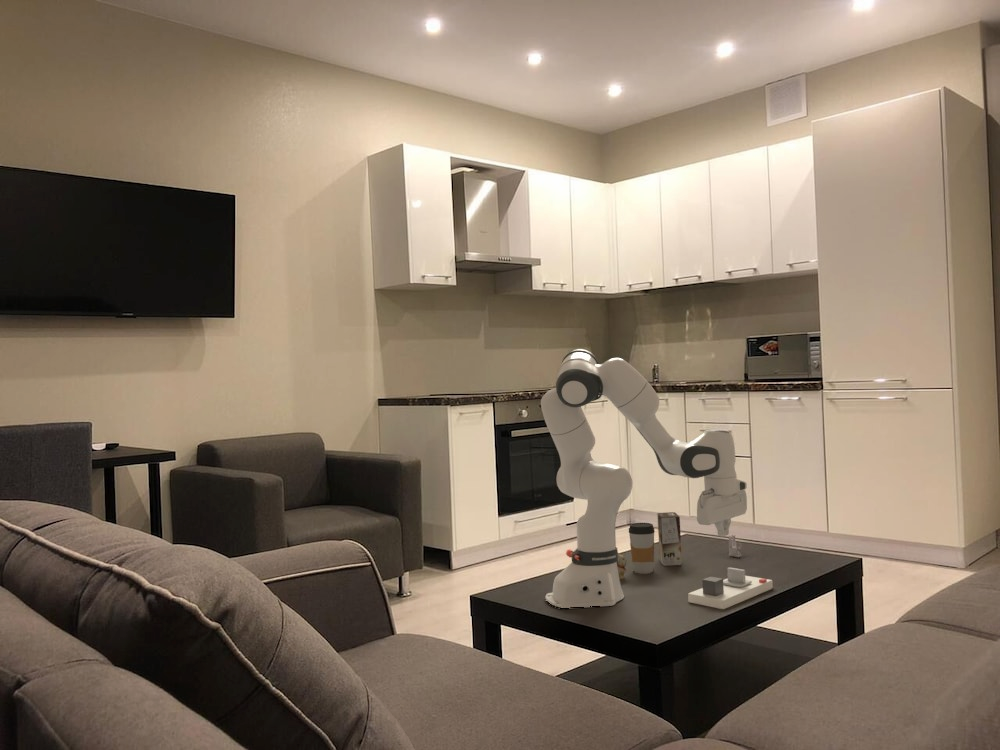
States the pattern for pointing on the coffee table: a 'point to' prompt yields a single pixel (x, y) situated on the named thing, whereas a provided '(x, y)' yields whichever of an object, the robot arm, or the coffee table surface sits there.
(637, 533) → the coffee cup
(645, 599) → the coffee table surface
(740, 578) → the grey lid with handle
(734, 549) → the grey uneven upright piece
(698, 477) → the robot arm
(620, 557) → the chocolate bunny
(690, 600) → the socket plate
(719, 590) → the dark grey cube
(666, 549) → the coffee box
